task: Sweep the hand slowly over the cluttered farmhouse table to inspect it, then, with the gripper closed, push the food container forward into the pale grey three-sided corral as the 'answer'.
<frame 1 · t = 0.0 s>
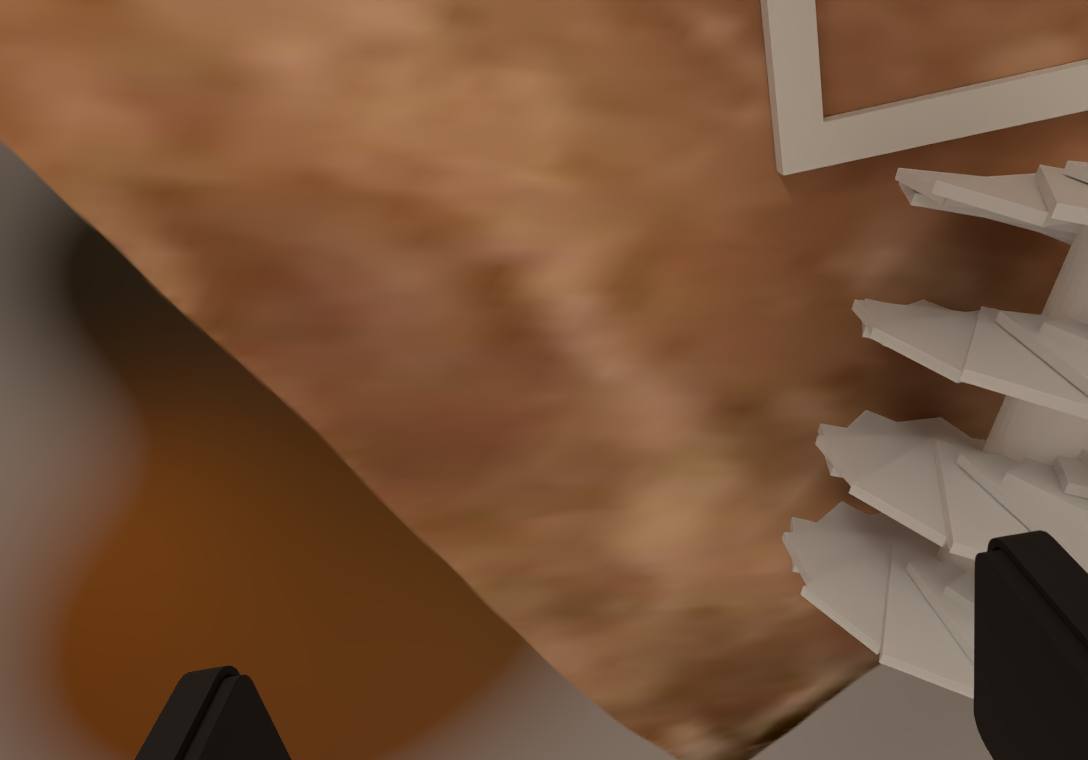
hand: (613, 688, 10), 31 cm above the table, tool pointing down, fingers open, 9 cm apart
spiral staircase: (947, 361, 42), on the table
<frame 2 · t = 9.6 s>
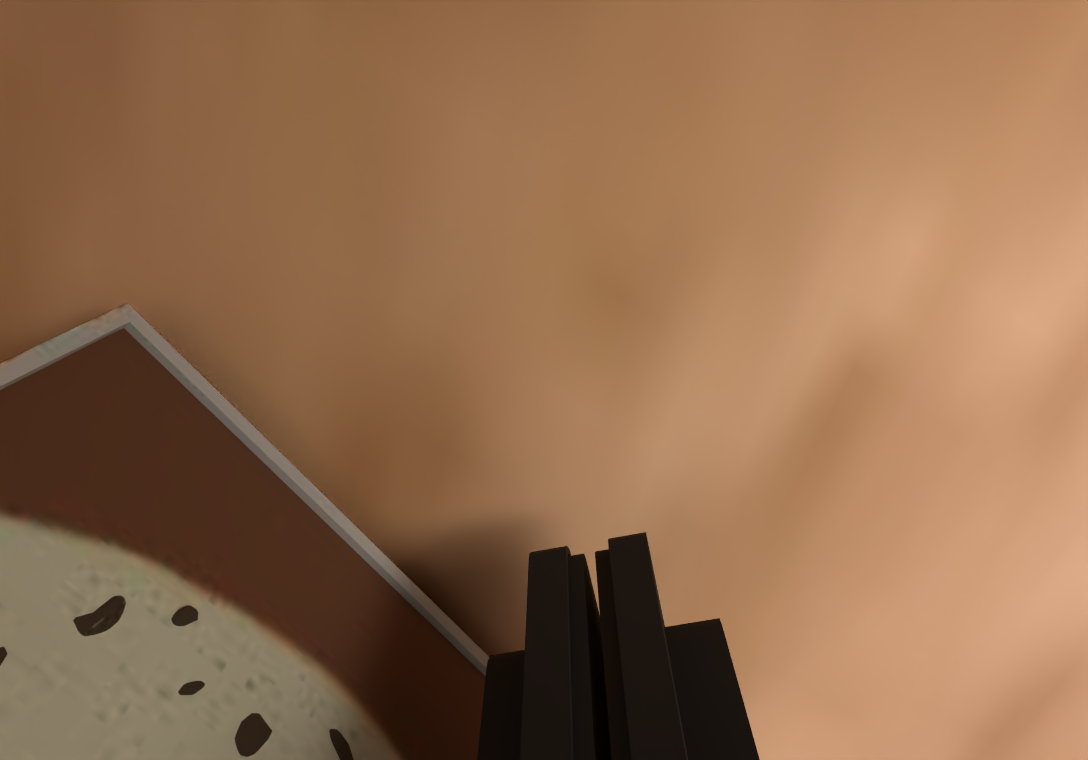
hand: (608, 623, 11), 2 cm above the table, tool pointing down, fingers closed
food container: (241, 607, 13), on the table
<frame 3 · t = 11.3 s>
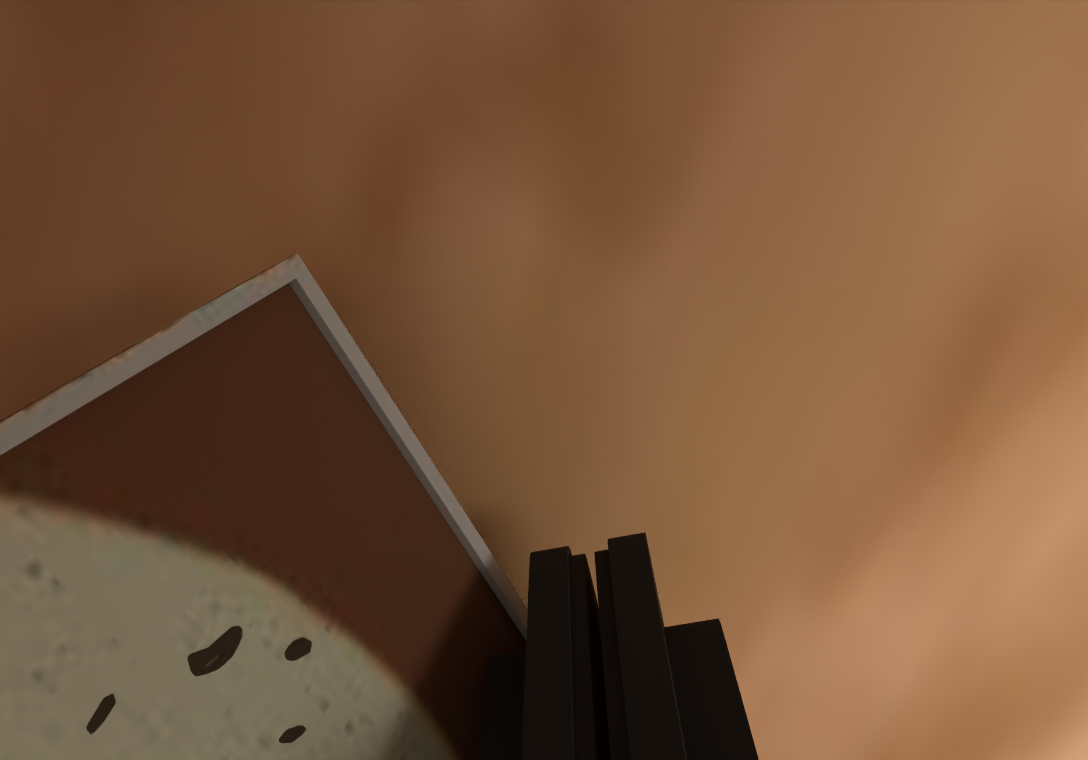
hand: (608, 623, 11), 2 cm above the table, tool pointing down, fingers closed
food container: (336, 556, 13), on the table, touching gripper
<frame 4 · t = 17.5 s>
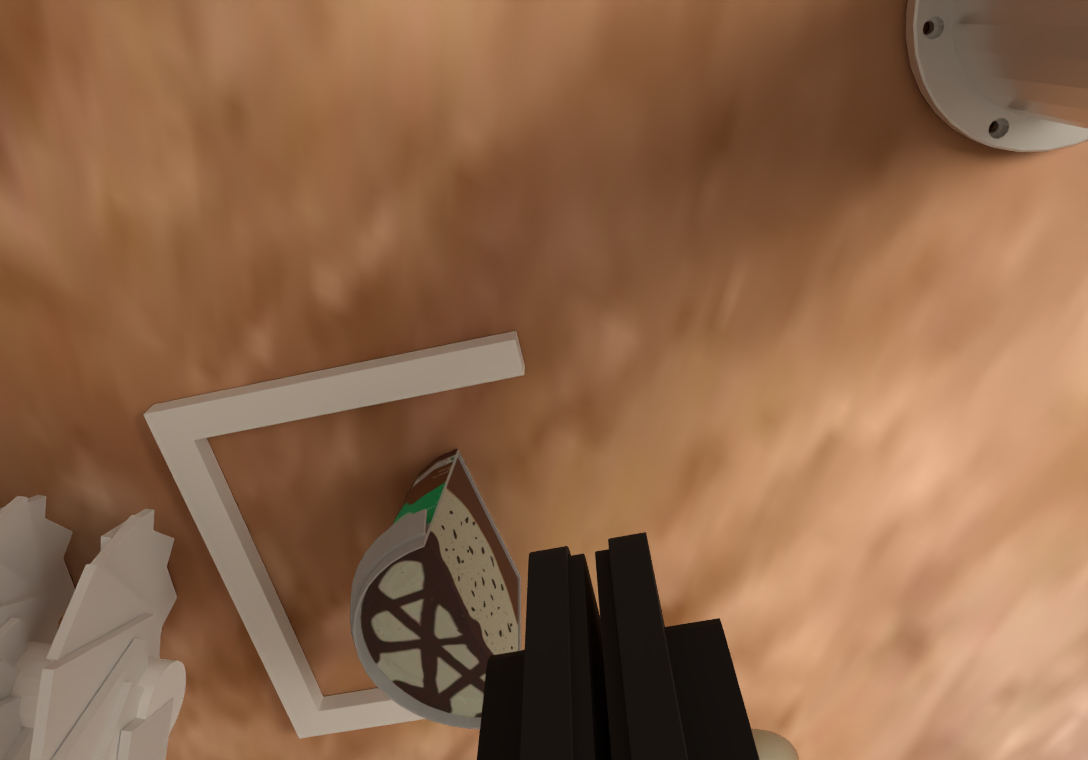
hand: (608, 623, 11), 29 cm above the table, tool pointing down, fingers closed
spiral staircase: (24, 558, 47), on the table
corral: (413, 548, 46), on the table
food container: (442, 528, 46), on the table
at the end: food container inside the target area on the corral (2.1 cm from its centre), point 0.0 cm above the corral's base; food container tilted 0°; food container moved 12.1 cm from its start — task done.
